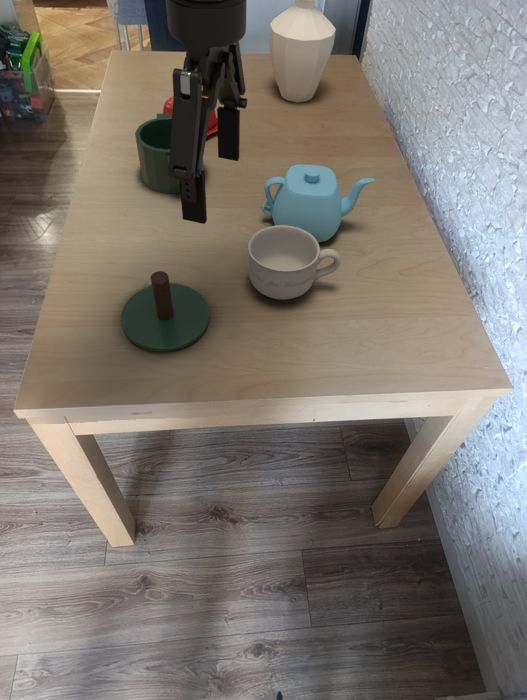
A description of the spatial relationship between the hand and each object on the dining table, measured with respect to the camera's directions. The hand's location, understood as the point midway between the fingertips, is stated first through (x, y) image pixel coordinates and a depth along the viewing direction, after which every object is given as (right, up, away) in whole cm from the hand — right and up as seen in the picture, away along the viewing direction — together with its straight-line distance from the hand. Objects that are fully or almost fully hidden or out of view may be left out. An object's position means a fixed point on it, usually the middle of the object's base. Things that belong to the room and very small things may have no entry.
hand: (212, 187), depth 63 cm
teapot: (+15, +2, +27) cm, 31 cm away
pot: (-11, +13, +33) cm, 38 cm away
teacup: (+11, -10, +17) cm, 23 cm away
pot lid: (-8, -16, +11) cm, 21 cm away
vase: (+14, +40, +56) cm, 70 cm away
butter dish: (-9, +26, +44) cm, 52 cm away
